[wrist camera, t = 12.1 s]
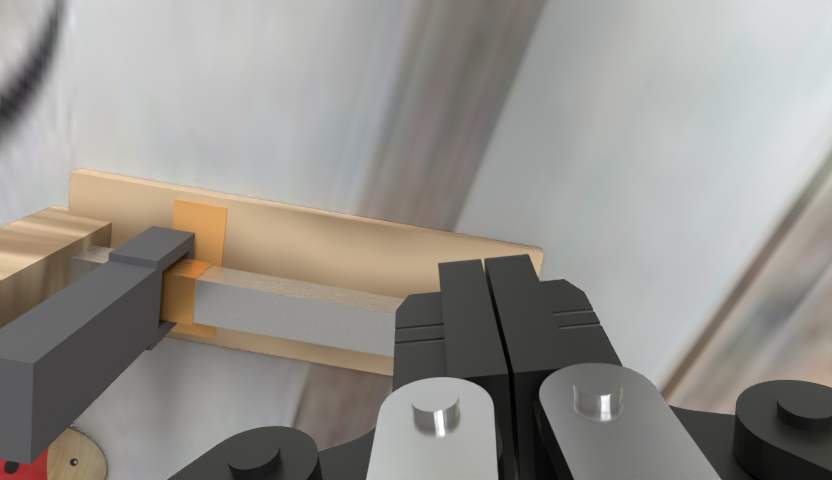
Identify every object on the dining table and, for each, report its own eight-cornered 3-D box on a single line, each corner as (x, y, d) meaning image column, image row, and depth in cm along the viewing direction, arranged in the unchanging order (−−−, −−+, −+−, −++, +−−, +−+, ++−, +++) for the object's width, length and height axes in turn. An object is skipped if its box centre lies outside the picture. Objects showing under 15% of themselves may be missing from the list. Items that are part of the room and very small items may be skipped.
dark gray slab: (153, 225, 40) (-36, 341, 24) (195, 233, 40) (33, 352, 24) (147, 305, 41) (-36, 463, 26) (188, 312, 41) (30, 474, 26)
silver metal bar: (58, 236, 39) (31, 249, 36) (527, 318, 39) (532, 336, 36) (56, 281, 40) (30, 297, 37) (517, 360, 40) (522, 381, 37)
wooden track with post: (55, 163, 41) (-210, 243, 24) (549, 249, 41) (619, 386, 25) (50, 307, 43) (-194, 469, 27) (518, 388, 44) (562, 598, 27)
